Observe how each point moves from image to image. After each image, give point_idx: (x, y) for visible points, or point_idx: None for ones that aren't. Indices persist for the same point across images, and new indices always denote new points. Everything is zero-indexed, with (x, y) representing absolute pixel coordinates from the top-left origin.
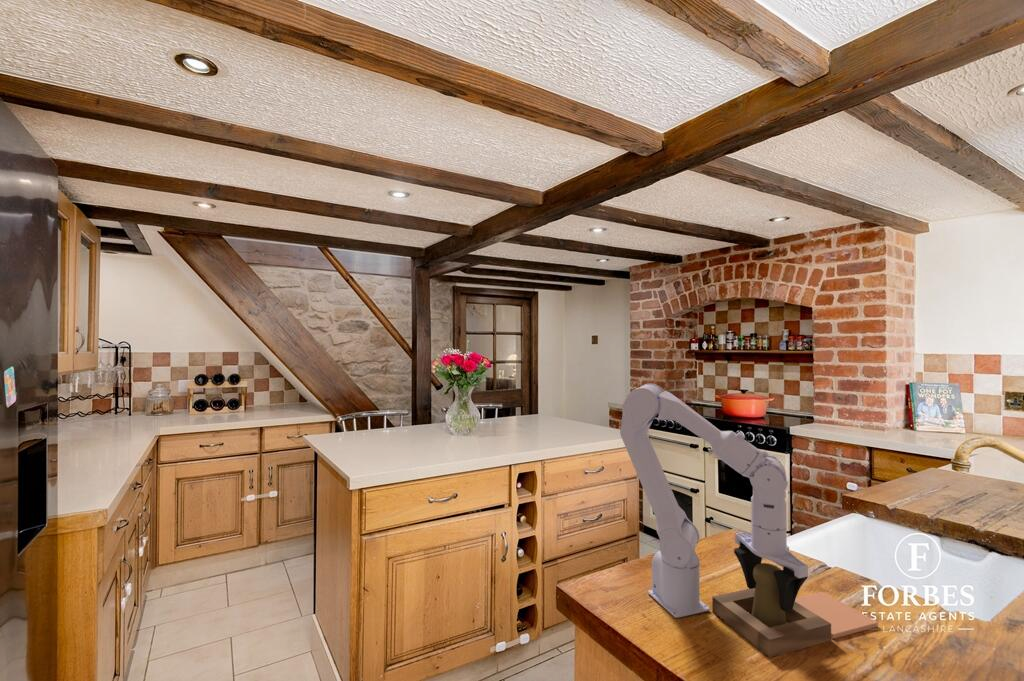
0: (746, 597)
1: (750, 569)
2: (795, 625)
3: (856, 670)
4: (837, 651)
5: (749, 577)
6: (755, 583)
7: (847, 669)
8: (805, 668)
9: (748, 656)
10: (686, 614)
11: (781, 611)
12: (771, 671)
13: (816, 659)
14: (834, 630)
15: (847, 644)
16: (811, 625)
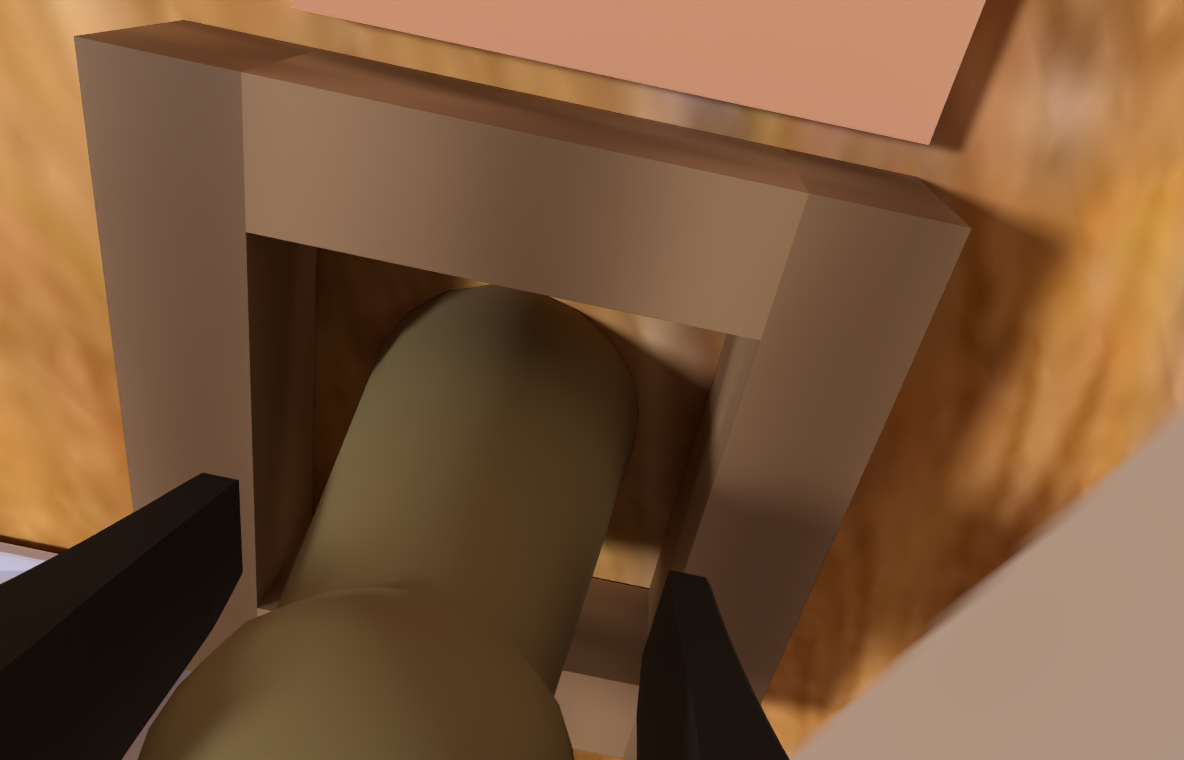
0: (244, 479)
1: (93, 743)
2: (748, 524)
3: (1179, 388)
4: (1004, 280)
5: (166, 675)
6: (215, 550)
7: (1121, 428)
8: (905, 614)
9: None
10: None
11: (601, 538)
12: (788, 749)
13: (920, 492)
14: (919, 56)
15: (1044, 94)
16: (842, 422)
